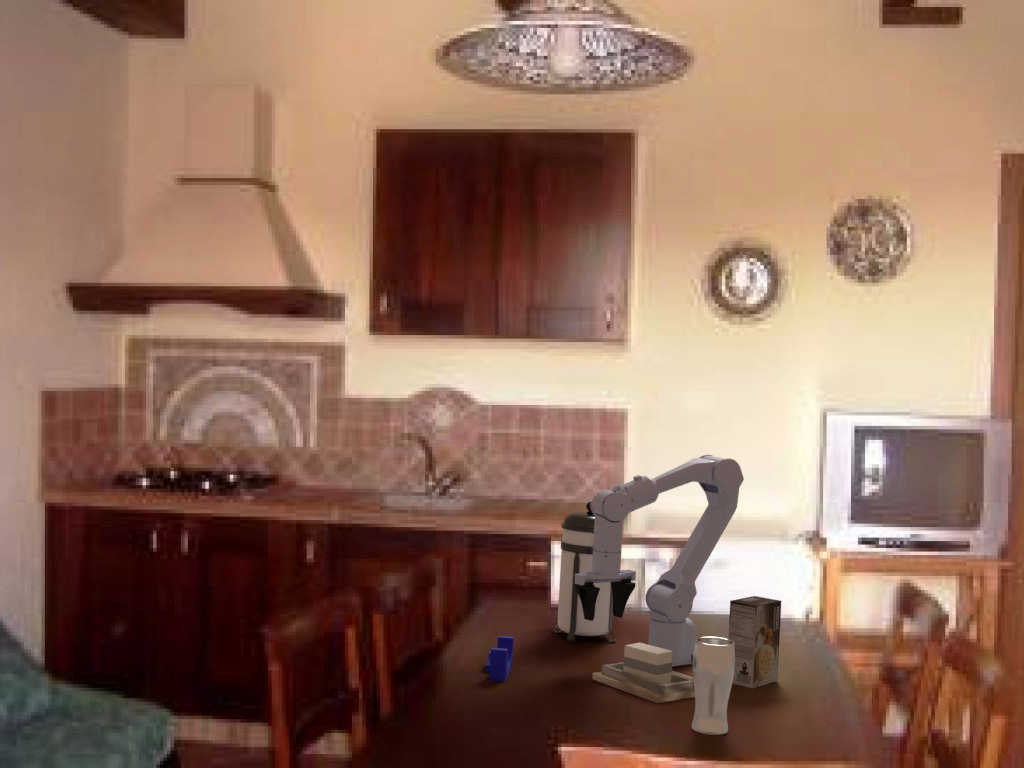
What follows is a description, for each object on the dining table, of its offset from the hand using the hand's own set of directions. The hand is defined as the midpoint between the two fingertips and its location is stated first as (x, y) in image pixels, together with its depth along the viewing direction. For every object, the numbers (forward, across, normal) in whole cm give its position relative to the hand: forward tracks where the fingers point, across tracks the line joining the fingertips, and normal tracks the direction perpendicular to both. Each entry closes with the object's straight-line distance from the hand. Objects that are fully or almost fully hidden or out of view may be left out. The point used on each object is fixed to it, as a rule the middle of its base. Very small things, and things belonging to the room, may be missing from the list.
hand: (603, 618), depth 249 cm
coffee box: (+10, -19, +23) cm, 31 cm away
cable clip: (+10, +23, -4) cm, 25 cm away
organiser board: (+9, +1, +17) cm, 19 cm away
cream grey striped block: (+8, +3, +17) cm, 19 cm away
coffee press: (+10, -13, -22) cm, 27 cm away
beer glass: (+10, +12, +42) cm, 45 cm away
